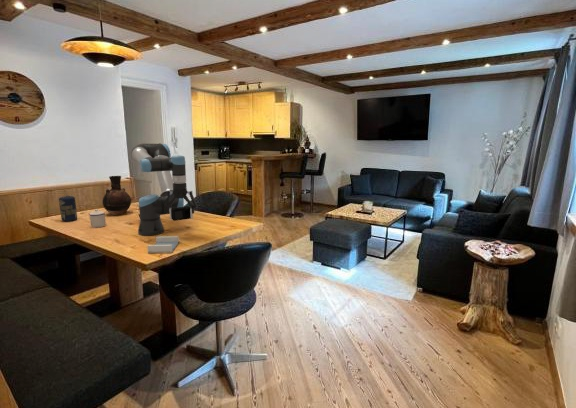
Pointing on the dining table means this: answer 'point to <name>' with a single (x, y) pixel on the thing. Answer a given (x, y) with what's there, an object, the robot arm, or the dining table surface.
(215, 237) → the dining table surface
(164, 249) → the cradle
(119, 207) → the ceramic vessel
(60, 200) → the canister
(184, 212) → the digital camera
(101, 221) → the teacup with lid
